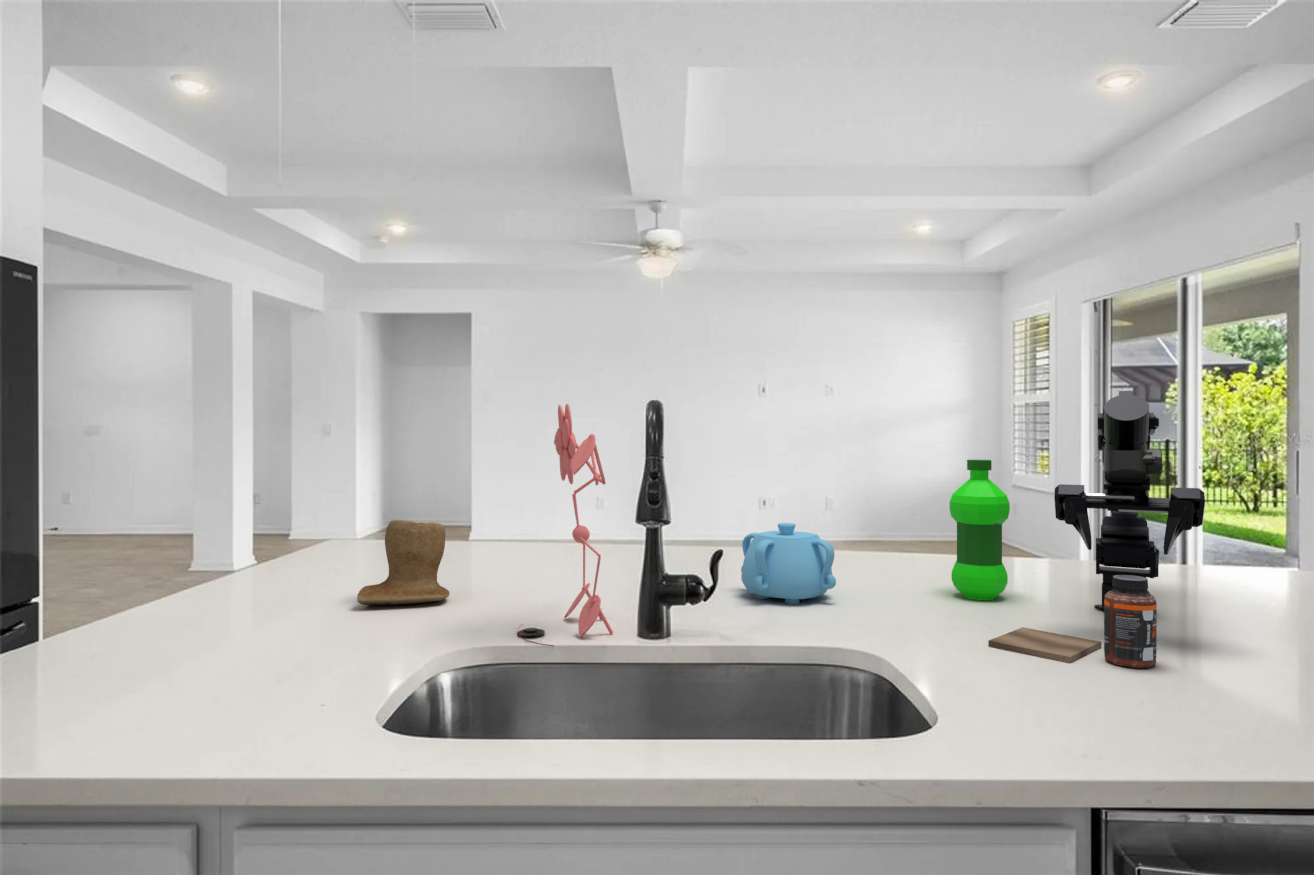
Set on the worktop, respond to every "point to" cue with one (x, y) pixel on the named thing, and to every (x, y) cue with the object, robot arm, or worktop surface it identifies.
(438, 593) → the brown chair seat
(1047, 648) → the walnut coaster board
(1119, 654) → the supplement bottle
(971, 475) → the plastic bottle
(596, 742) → the worktop surface
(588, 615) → the figurine
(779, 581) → the decorative pot
